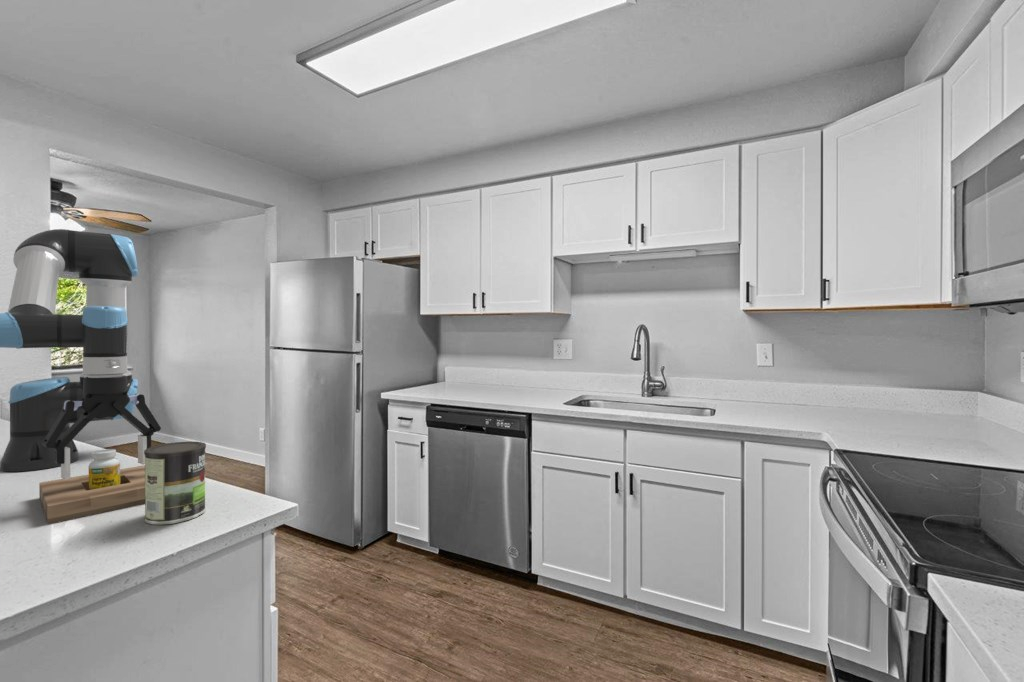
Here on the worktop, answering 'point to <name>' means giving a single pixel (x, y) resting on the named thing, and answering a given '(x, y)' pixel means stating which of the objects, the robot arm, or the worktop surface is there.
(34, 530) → the worktop surface
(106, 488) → the socket block
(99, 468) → the supplement bottle
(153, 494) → the coffee can
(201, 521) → the worktop surface
